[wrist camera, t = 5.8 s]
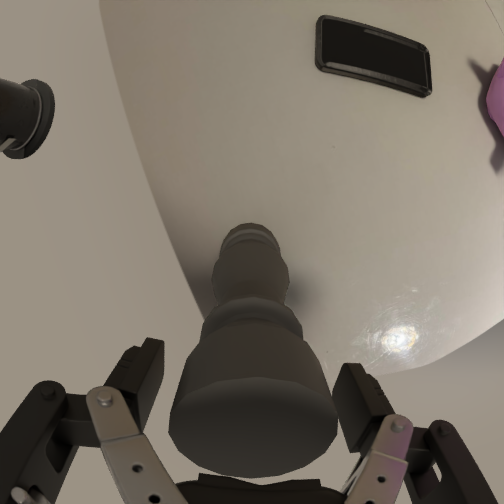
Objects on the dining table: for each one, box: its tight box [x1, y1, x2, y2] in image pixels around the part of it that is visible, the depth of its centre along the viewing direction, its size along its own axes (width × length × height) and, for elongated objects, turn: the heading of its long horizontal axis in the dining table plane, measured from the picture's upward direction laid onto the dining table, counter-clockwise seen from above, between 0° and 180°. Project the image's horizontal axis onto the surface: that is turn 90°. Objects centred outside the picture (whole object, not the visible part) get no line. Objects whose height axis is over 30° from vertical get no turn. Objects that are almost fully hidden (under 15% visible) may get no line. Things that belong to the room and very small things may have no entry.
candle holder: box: [168, 223, 338, 478], centre depth 20 cm, size 6×6×25 cm
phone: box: [315, 15, 432, 97], centre depth 26 cm, size 8×1×15 cm
